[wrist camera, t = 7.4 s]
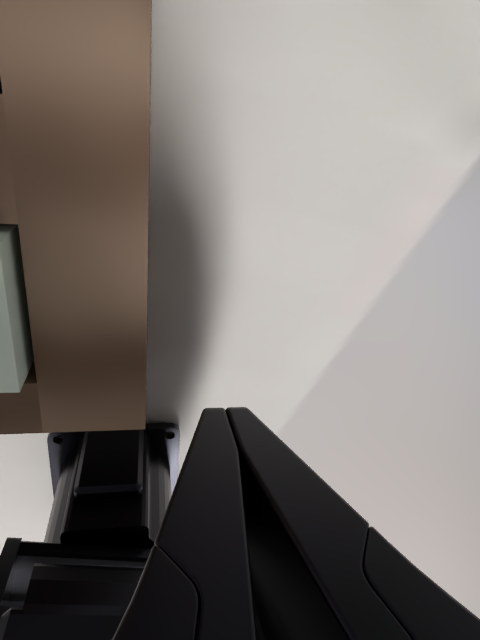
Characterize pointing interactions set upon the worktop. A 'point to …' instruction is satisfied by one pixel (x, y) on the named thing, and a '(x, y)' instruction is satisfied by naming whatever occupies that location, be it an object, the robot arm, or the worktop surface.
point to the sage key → (13, 314)
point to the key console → (78, 207)
